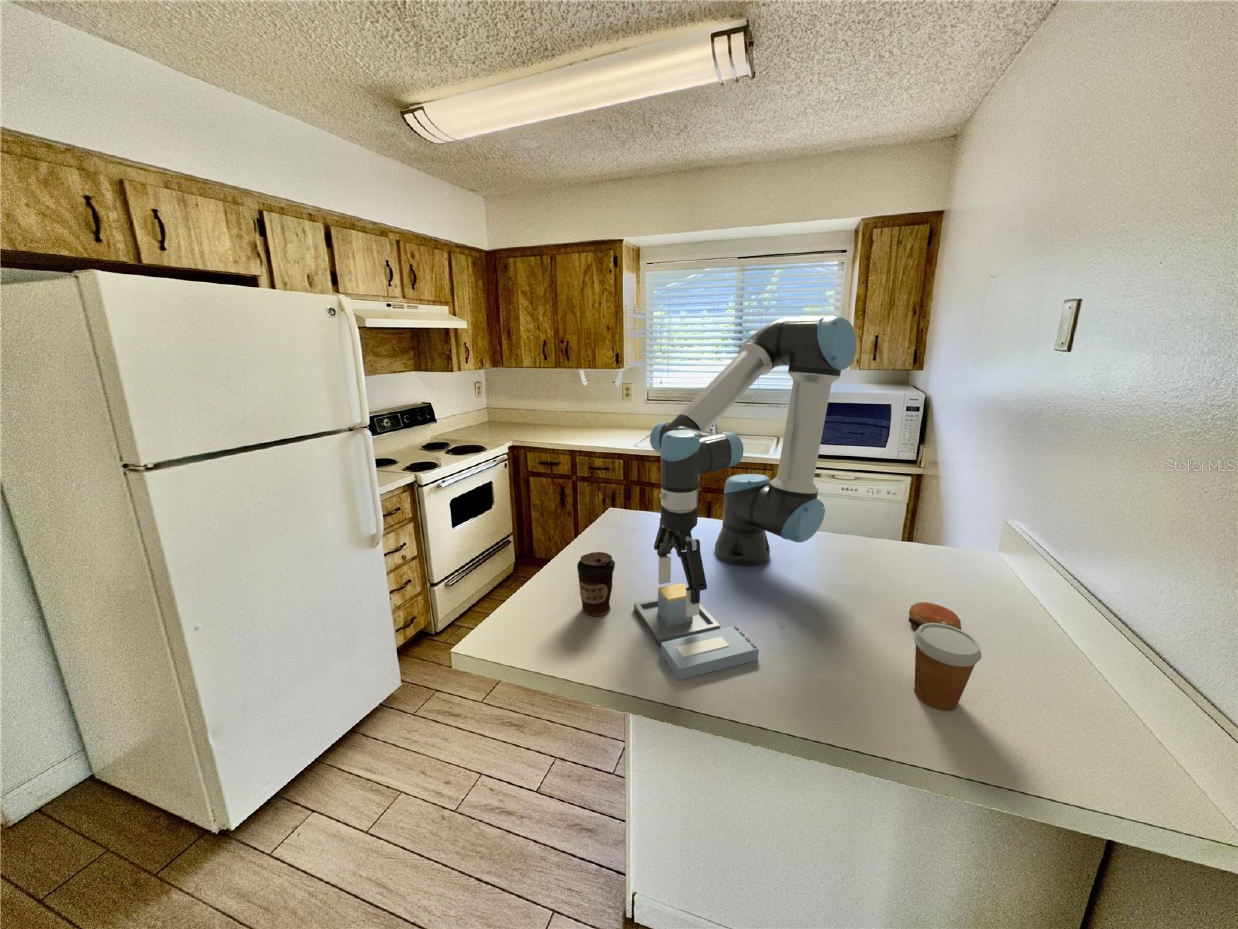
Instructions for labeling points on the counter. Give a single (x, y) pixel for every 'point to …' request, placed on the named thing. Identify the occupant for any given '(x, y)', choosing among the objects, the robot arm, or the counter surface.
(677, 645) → the blue labeled box
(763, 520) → the robot arm
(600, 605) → the coffee cup
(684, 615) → the yellow topped blue block
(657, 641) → the tray
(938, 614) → the burger
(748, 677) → the counter surface
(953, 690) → the disposable coffee cup
